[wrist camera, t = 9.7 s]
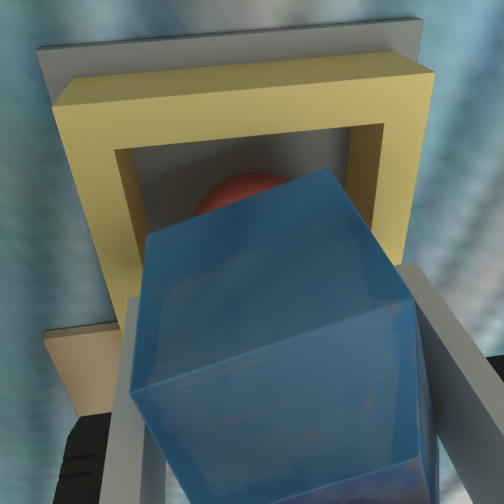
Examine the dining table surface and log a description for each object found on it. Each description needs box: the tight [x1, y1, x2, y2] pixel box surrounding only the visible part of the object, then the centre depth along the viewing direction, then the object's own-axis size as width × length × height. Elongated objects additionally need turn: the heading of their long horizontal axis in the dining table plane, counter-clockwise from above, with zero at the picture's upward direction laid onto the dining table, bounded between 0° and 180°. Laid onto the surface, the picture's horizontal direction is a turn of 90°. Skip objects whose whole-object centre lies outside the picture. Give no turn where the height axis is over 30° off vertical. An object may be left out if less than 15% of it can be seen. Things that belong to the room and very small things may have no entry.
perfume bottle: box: [129, 167, 439, 504], centre depth 11 cm, size 6×6×12 cm
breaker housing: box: [36, 18, 436, 336], centre depth 19 cm, size 14×14×4 cm
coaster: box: [43, 322, 123, 418], centre depth 26 cm, size 9×9×1 cm
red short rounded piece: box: [194, 173, 290, 217], centre depth 17 cm, size 5×5×3 cm
